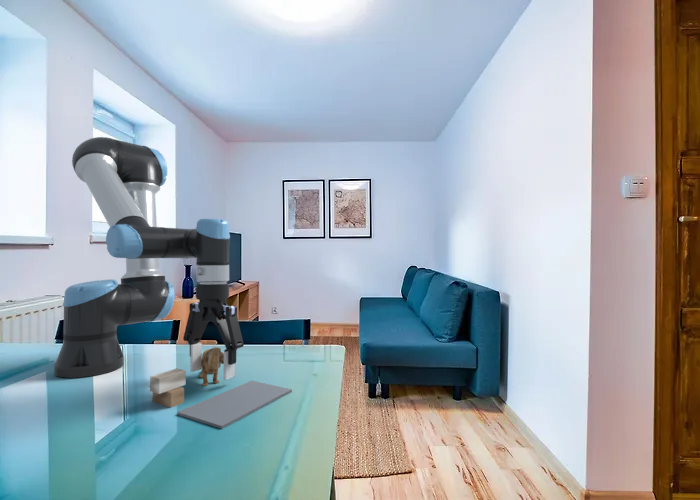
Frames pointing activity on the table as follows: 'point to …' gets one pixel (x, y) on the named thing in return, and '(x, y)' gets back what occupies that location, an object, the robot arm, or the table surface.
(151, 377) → the brick stack
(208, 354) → the lion figurine
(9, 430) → the table surface
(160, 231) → the robot arm
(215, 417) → the gray mat
